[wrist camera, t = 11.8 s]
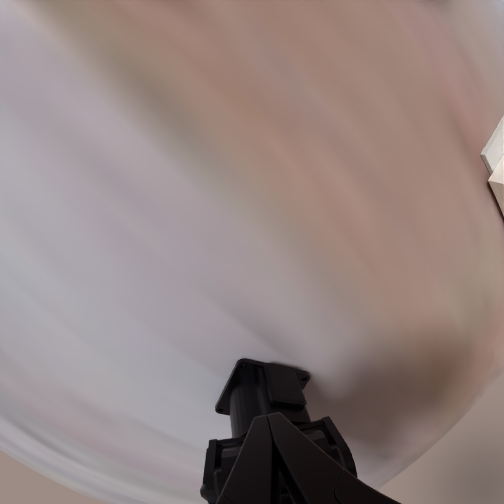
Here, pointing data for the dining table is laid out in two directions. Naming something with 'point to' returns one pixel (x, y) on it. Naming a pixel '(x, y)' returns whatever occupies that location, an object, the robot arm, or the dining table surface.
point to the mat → (494, 148)
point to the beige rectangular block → (498, 183)
